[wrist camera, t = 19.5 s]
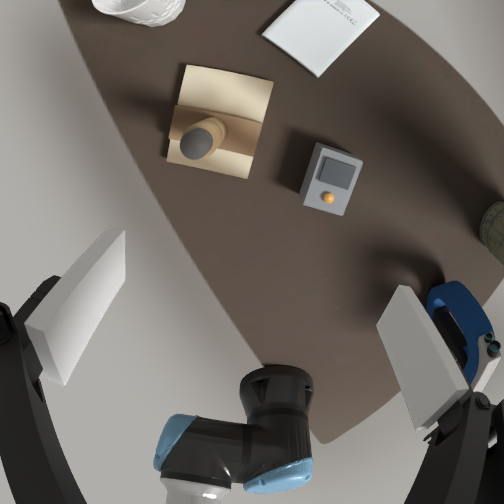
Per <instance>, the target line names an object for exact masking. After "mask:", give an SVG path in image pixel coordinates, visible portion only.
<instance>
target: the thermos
mask: <svg viewBox="0 0 504 504" xmlns="http://www.w3.org/2000/svg"><path fill="white" fill-rule="evenodd" d="M479 235H480V240H481V242H482V244H483V245H485V246H486V247H487V248H488V249H489V251H490V252H491V253H492V254H493V255H494V256H495V257H496V258H497V259H498V260H499V261H500V262H501V263H502V264H503V265H504V202H501V201H500V202H496V203H494V204H493V205H491V206H490V207H489V208H488V210H487V211H486V212H485V214H484V216H483V218H482V221H481V224H480V230H479Z"/></svg>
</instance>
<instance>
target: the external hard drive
mask: <svg viewBox="0 0 504 504" xmlns="http://www.w3.org/2000/svg"><path fill="white" fill-rule="evenodd" d="M379 16H380V15H379V13H378V12H377V11H376V10H375V9H373V8H372V7H371V6H370V5H369V4H368V3H366V2H365V1H364V0H296V1H295V2H294V3H292V4H291V5H290V6H289V7H288V8H287V9H286V10H285V11H284V12H283V13H282V14H281V15H280V16H279V17H278V18H277V19H276V20H275V21H274V22H273V23H272V24H271V25H270V26H269V27H268V28H267V29H266V30H265V31H264V32H263V33H262V36H263V37H264V38H265V39H267V40H268V41H270V42H271V43H273V44H274V45H275V46H277V47H278V48H280V49H281V50H282V51H284V52H285V53H286V54H288V55H289V56H290V57H292V58H293V59H294V60H296V61H297V62H298V63H299V64H301V65H302V66H303V67H305V68H306V69H307V70H308V71H309V72H311V73H312V74H313V75H314V76H315V77H317V78H318V77H319V76H320V75H321V74H322V73H323V72H324V71H325V70H326V69H327V68H328V67H329V66H330V64H331V63H332V62H333V61H334V60H335V59H336V58H337V57H338V56H339V55H340V54H341V53H342V52H343V51H344V50H345V49H346V48H347V47H348V46H349V45H350V44H351V43H352V42H353V41H354V40H355V39H356V38H357V37H358V36H359V35H360V34H361V33H362V32H363V31H364V30H365V29H366V28H367V27H368V26H369V25H370V24H371V23H372V22H373V21H374V20H375V19H376V18H377V17H379Z"/></svg>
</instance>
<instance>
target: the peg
mask: <svg viewBox="0 0 504 504" xmlns="http://www.w3.org/2000/svg"><path fill="white" fill-rule="evenodd" d="M227 131H228V130H227V126H226V124H225V122H224V121H223V120H221V119H220V118H217V117H210V118H207V119H205V120H202V121H200V122H198V123H196V124H193V125H191V126H189V127H188V128H187V129H186V130H185V131H184V133H183V135H182V138H181V140H180V150H181V152H182V154H183V155H184V156H185V157H186V158H188V159H191V160H198V159H205V158H207V157H209V156H211V155H212V154H213V153H214V152H215V150H216V149H217V148H218V147H219V145H220V144H221V143H222V142H223V140H224V139H225V138H226V136H227Z"/></svg>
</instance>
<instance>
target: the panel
mask: <svg viewBox="0 0 504 504" xmlns="http://www.w3.org/2000/svg"><path fill="white" fill-rule="evenodd" d="M273 84H274V82H271V81H268V80H264V79H259V78H255V77H251V76H247V75H242V74H237V73H232V72H227V71H222V70H217V69H211V68H205V67H199V66H192V65H187V66H186V70H185V74H184V78H183V83H182V87H181V91H180V95H179V100H178V105H175V108H174V113H173V118H172V123H171V128H170V133H169V138H168V139H170V145H169V150H168V156H167V161H168V162H173V163H178V164H183V165H188V166H192V167H197V168H202V169H206V170H211V171H215V172H220V173H224V174H228V175H233V176H237V177H241V178H245V179H247V178H248V174H249V171H250V167H251V163H252V159H253V157H254V153H255V149H256V146H257V142H258V138H259V135H260V131H261V127H262V124H263V119H264V116H265V112H266V108H267V105H268V101H269V98H270V94H271V91H272V87H273ZM210 117H217V118H220V119H221V120H223V121H224V122H225V124H226V126H227V130H228V131H227V136H226V138H225V139H224V140H223V142H222V143H221V144H220V145H219V147H218V148H217V149H216V150H215V152H214V153H213V154H212V155H211V156H209V157H207V158H205V159H198V160H191V159H188V158H186V157H185V156H184V155H183V154H182V152H181V150H180V140H181V138H182V135H183V133H184V131H185V130H186V129H187V128H188V127H189V126H191V125H193V124H196V123H198V122H200V121H202V120H205V119H207V118H210Z"/></svg>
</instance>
